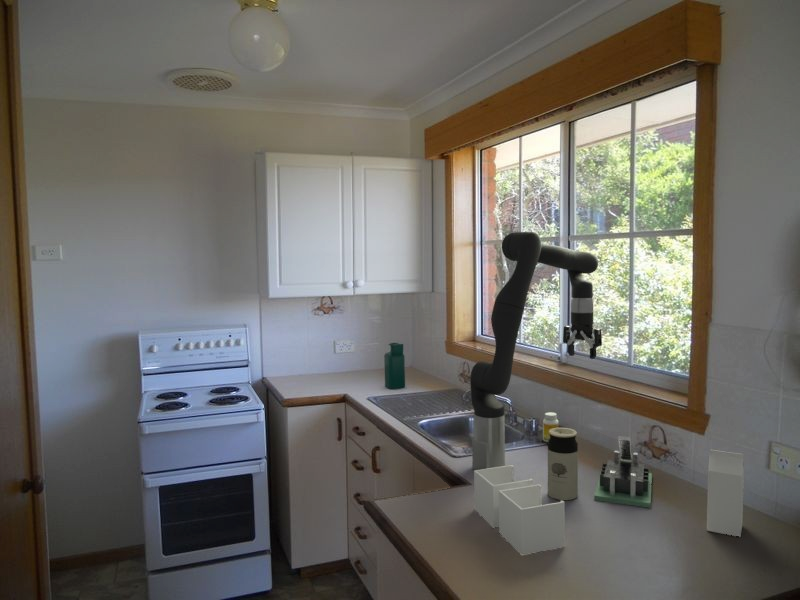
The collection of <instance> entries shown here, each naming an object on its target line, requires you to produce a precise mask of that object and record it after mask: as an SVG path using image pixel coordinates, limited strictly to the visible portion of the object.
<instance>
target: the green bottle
mask: <svg viewBox="0 0 800 600" xmlns="http://www.w3.org/2000/svg"><path fill="white" fill-rule="evenodd" d="M388 346H390V348H389V349H390V351H389V352H386V353H384V357H383V358H384V363H383V364H384V387H385V388H386V389H389V390H392V391H393V390H400V389H405V388H406V369H405V368H406V365H405V363H406V361H405V358H406V357H405V354H404V343H398V342H390V343H388Z"/></svg>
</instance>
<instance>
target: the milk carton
mask: <svg viewBox="0 0 800 600" xmlns="http://www.w3.org/2000/svg"><path fill="white" fill-rule="evenodd" d="M744 458H745V454H743V453H738V452H733V451H732V452H729V451H723V450H717V449H709V458H708V467H707V468H708V469H707V496H706V497H707V498H706V499H707V503H706V504H707V505H706V531H708V532H712V533H716V534H717V533H718V534H722V535H726V534H727V536H731V535H732V537H736V536H739V537H738V538H741V536H742V535H741V534H742V529H743V517H744V515H743V513H744V511H743V509H744V485H745V484H744V483H745V481H744V478H745V477H744V476H745V459H744Z"/></svg>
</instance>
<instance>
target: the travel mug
mask: <svg viewBox="0 0 800 600" xmlns="http://www.w3.org/2000/svg"><path fill="white" fill-rule="evenodd" d="M549 434H550V439H549V441H548V442H547V495H549V497H550V498H553V499H555V500H559V501H560V500H562V501H571V500H574V499H576V498H578V495H579V490H578V487H579V486H578V483H579V479H578V476H579V474H578V473H579V472H578V471H579V469H578V468H579V465H578V464H579V455H578V454H579V443H578V442H577V440H576V438H577V437H576V436H577V434H578V432H577V431H576V430H575V429H572V428H568V427H559V428H553V429H550V430H549Z"/></svg>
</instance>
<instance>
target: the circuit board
mask: <svg viewBox="0 0 800 600" xmlns="http://www.w3.org/2000/svg"><path fill="white" fill-rule="evenodd" d="M601 470H602V468H601ZM601 470H600V471H601ZM600 474H601V472H600V473H599V478H598V482H597V485H596V489H595V492H594V495H593V496H594V501H600V502H606V503H612V504H613V503H614V504H619V505H620V504H621V505H628V506H629V505H630V506H637V507H644V508H649V507H652V505H651V504H652V503H651V502H652V485H651V484H652V483H653V482H652V481H653V478H652V477H653V473H652V472H649V480H648V492H643V496H637V495H635V498H630V494H622V493H615V496H614V495H610V492H607V491H604V486H600Z"/></svg>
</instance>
